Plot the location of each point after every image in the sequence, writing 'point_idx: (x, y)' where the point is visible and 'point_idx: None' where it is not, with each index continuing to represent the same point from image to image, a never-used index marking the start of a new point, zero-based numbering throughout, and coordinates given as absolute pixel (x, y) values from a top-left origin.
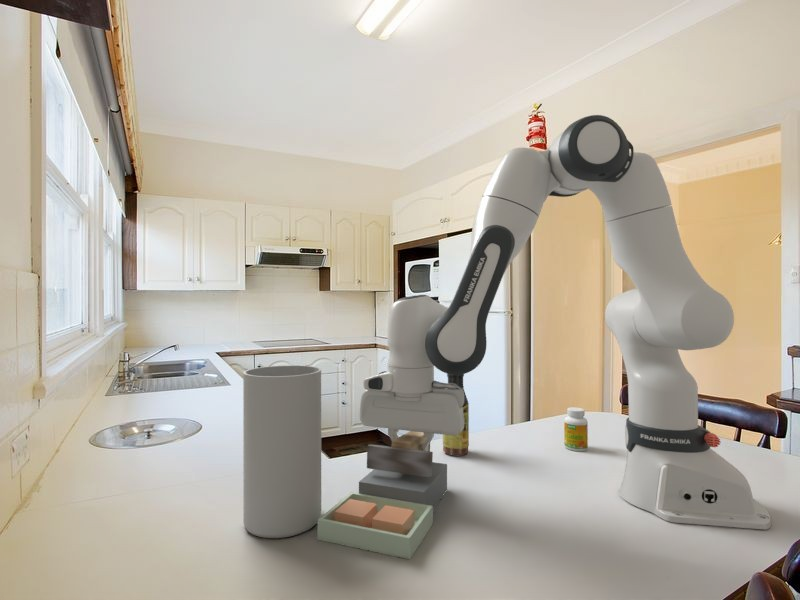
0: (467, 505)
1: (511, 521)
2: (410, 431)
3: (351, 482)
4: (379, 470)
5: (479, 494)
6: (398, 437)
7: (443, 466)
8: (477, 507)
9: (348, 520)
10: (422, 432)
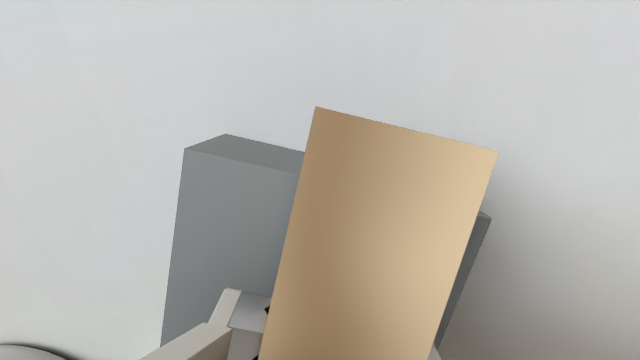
0: (491, 280)
1: (588, 345)
2: (293, 243)
3: (86, 164)
4: (190, 328)
5: (544, 202)
6: (210, 345)
7: (471, 250)
8: (518, 287)
9: None
10: (417, 259)
